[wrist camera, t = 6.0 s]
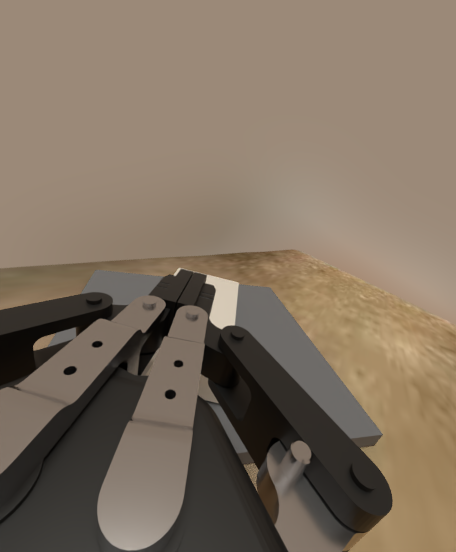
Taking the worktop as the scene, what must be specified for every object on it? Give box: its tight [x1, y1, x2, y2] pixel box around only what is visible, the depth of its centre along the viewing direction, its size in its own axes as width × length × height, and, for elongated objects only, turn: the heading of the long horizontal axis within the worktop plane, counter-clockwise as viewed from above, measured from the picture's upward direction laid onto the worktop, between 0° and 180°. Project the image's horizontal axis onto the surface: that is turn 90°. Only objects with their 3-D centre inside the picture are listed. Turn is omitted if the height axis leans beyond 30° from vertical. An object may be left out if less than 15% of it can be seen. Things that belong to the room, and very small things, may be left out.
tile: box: [145, 268, 239, 403], centre depth 21 cm, size 2×7×14 cm
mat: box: [48, 270, 383, 464], centre depth 21 cm, size 22×20×1 cm
